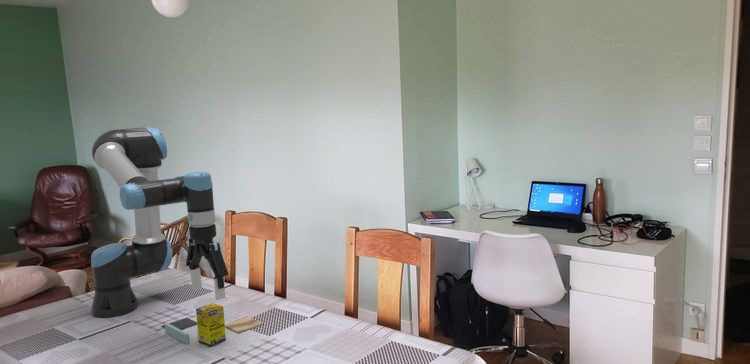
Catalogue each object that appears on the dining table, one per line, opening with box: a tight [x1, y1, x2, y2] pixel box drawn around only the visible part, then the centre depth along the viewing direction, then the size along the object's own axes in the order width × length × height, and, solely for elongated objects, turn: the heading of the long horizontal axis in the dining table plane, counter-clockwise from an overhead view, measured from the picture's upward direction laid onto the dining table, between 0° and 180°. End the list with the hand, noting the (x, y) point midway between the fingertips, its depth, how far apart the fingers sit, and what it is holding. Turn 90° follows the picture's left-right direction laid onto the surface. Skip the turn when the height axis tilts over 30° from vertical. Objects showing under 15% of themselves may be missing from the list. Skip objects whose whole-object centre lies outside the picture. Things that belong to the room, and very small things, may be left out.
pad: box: [225, 316, 264, 335], centre depth 179 cm, size 9×9×1 cm
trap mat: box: [160, 317, 197, 331], centre depth 182 cm, size 8×9×1 cm
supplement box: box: [195, 302, 227, 347], centre depth 168 cm, size 6×6×11 cm
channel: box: [164, 322, 191, 346], centre depth 176 cm, size 14×12×3 cm
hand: (208, 294), depth 166 cm, fingers open, 13 cm apart
